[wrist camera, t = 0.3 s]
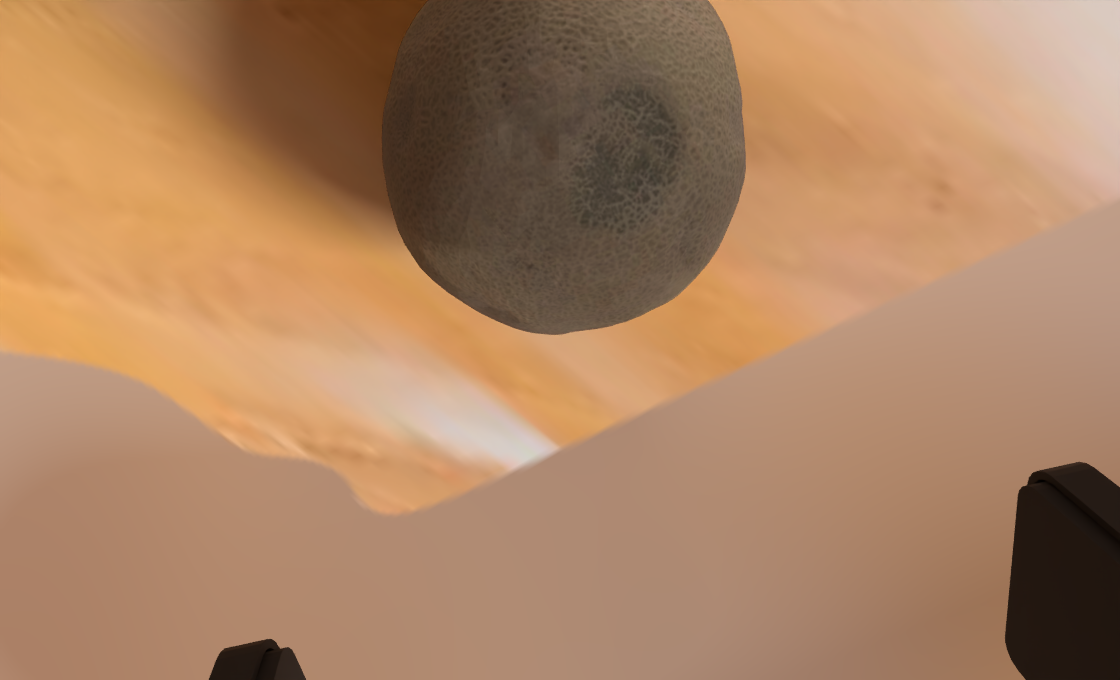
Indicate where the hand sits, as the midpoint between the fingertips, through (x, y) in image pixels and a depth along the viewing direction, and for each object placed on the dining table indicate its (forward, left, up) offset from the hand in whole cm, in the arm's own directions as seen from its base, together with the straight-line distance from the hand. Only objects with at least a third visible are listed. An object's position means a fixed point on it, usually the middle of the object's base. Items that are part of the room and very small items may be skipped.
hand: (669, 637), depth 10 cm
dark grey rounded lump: (-2, +1, -31) cm, 31 cm away
